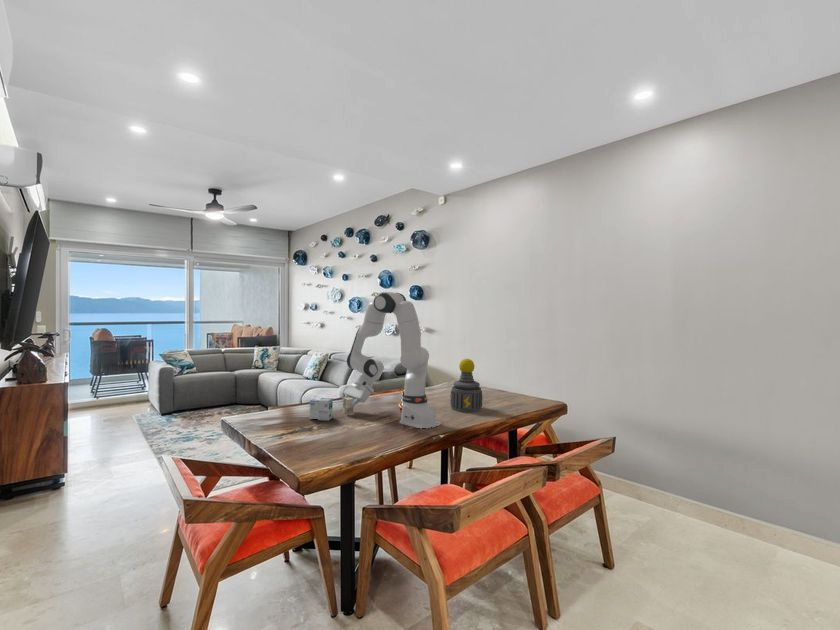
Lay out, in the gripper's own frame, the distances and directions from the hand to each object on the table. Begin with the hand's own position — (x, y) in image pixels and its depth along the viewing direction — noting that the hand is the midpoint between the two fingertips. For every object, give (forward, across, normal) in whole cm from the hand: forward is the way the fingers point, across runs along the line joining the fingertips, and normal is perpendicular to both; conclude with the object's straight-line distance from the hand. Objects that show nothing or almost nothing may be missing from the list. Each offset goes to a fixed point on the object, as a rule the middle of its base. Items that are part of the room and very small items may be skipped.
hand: (347, 404), depth 233 cm
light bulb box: (+15, 0, -7) cm, 17 cm away
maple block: (+4, 0, +4) cm, 6 cm away
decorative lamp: (-42, +28, +50) cm, 71 cm away
